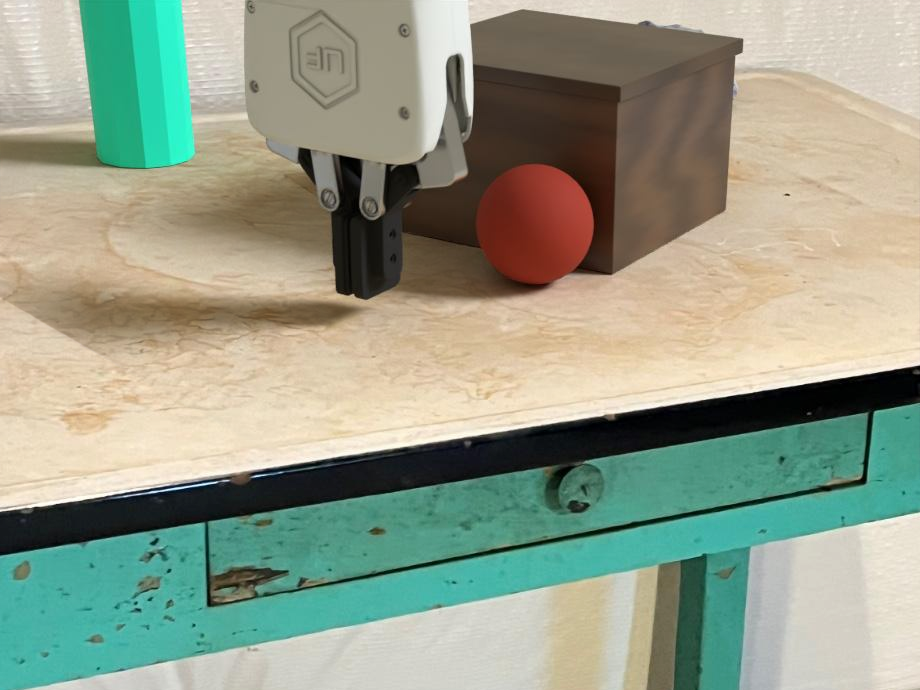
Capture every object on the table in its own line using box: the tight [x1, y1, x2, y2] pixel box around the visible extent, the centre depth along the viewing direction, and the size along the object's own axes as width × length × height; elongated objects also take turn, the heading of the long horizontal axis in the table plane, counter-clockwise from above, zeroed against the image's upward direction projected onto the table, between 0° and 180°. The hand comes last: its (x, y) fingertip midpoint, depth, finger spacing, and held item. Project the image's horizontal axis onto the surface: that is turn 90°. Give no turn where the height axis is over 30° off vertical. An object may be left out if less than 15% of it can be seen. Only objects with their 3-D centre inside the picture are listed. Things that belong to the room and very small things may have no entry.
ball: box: [476, 164, 594, 285], centre depth 87 cm, size 6×6×6 cm
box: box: [402, 8, 744, 275], centre depth 95 cm, size 15×15×10 cm
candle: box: [78, 0, 196, 169], centre depth 104 cm, size 6×6×12 cm
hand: (368, 288), depth 83 cm, fingers closed
